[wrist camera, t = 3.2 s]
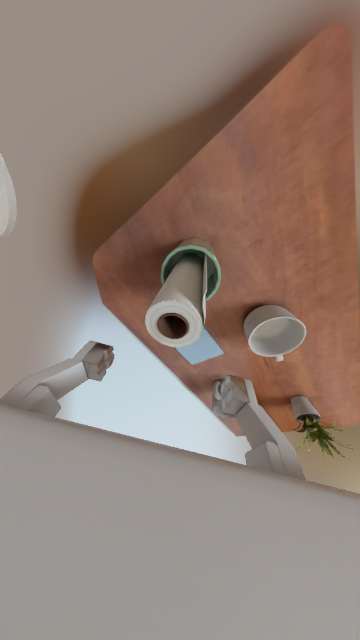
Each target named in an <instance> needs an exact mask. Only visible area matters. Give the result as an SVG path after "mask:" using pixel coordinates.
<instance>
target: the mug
mask: <svg viewBox="0 0 360 640" xmlns="http://www.w3.org/2000/svg"><path fill="white" fill-rule="evenodd" d="M223 381H225V380H219V381H215V382H214V383H213V396H212V411H213V413H214V414H215V415H217V416H219V417H223V418H234V417H235V415H233V414H229V413H226V412H222V402H221V401H222V400H223V397H222V396H221V385H222V383H223Z"/></svg>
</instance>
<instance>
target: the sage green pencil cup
mask: <svg viewBox="0 0 360 640" xmlns="http://www.w3.org/2000/svg"><path fill="white" fill-rule="evenodd" d="M189 253H193V254H196V255H198V256H199V257H200V258H201V259H202V261H203V263H204V253H205V254H207V292H206V294H205V301H207V300H209V299H210V298H211V297H212V296H213V295H214V294H215V293H216V292H217V290H218V287H219V285H220V282H221V268H220V264H219V261H218V257H217V254H216V252H215V250H214V248H213V247H212V246H211V245H210V244H209V243H208V242H206V241H205V240H202V239H198V238H191V239H186V240H184V241H182V242H181V243H180V244H178V245H177V246H176V247H175V248H174V249H173V250H172V251H171V252H170V253H169V254H168V255H167V257H166V259H165V261H164V262H163V264H162V267H161V275H160V278H161V282H162V285H164V283H165V281H166V280H167V278H168V276H169V275H170V273H171V272H172V270H173V268H174V267H175V265H176V263H177V262H178V260H179V259H180V258H181V257H182V256H183V255H185V254H189Z"/></svg>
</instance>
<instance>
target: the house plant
mask: <svg viewBox="0 0 360 640" xmlns="http://www.w3.org/2000/svg"><path fill="white" fill-rule="evenodd" d="M291 404H292V408H293V411H294V415H295V418H296V420H297V421H298V422H301V423H304V425H303V427H302V430H300V431H297V432H304V431H305V430H306V428H307V433H308V434H307V437H306V438H305V440H304V442H303V444H304V443H305V441H306V439H308V438H309V440H308V451H309V448H310V437H311V442H314V441H315V440H317V442H318V444H319V445H320V447H321V448H322V451H325V452H326V453H327V454H329V455H331V456H332V457H333V455H332V453H331V451H330V449H329V447H328V445H327V444H326V442H325V441H324V439H325V440H326V441H327V443H328V444H329V445H330V446H331V447H332V448H333V449H334V450H335V451H336V452H337V453H338V454H339V455H341V456H343V455H342V454H341V453H340V452H339V451H338V450H337V449H336V448H335V447H334V446H333V445H332V444H331V443H330V442H329V441H328V440H330V441H334V440H332V438H331V437H329V435H331V434H330V433H328V432H326V431H325V430H324V429H322V428H321V427H320V426H321V425H320V424H318V423H319V422H320V421H319V420H320V419H321V416H320V415H319V413H318V412H317V411H316V410H315V408H314V407H313V406H312V404H311V403H310V402H309V400H308V399H307V398H306V397H304V396H295V397H292V398H291ZM318 421H319V422H318ZM301 423H300V425H301ZM321 423H322V422H321ZM300 425H299V426H298V427H297V428H295V429H293V430H296V429H298V428H299V427H300ZM319 425H320V426H319ZM325 425H326V424H325ZM327 426H328V425H327ZM334 426H335V422H334V423H333V424H332V425H330V426H328V427H325V428H333V427H334ZM322 427H323V426H322ZM333 429H334V428H333ZM322 437H323V438H324V439H323V438H322ZM327 439H328V440H327ZM335 441H337V440H335ZM303 444H302V446H303ZM302 446H301V447H302ZM301 447H300V448H301ZM298 449H299V448H298ZM343 457H345V456H343ZM333 458H334V457H333ZM345 458H346V457H345Z"/></svg>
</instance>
